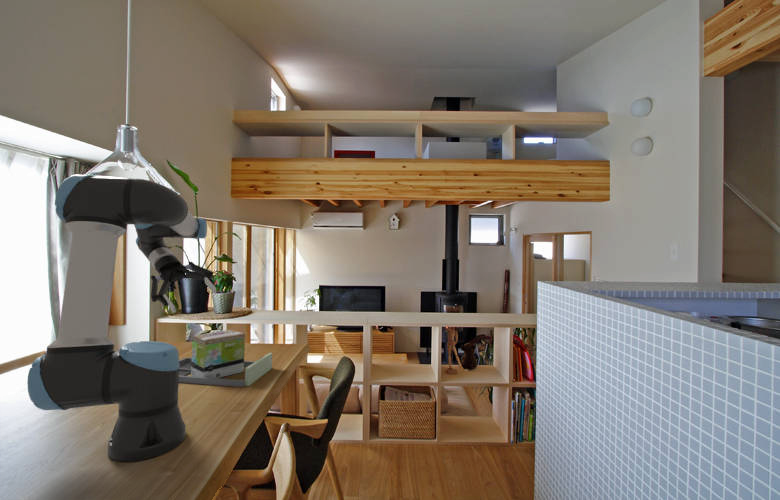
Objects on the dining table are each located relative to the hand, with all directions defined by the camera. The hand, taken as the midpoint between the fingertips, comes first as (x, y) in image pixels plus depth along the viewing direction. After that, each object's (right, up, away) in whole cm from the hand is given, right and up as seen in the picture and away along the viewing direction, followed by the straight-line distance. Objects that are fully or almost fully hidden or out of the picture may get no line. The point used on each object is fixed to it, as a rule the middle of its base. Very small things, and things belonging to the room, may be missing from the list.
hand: (195, 300), depth 119 cm
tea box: (+2, -29, +11) cm, 31 cm away
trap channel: (0, -29, +11) cm, 31 cm away
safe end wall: (+18, -29, +9) cm, 35 cm away
